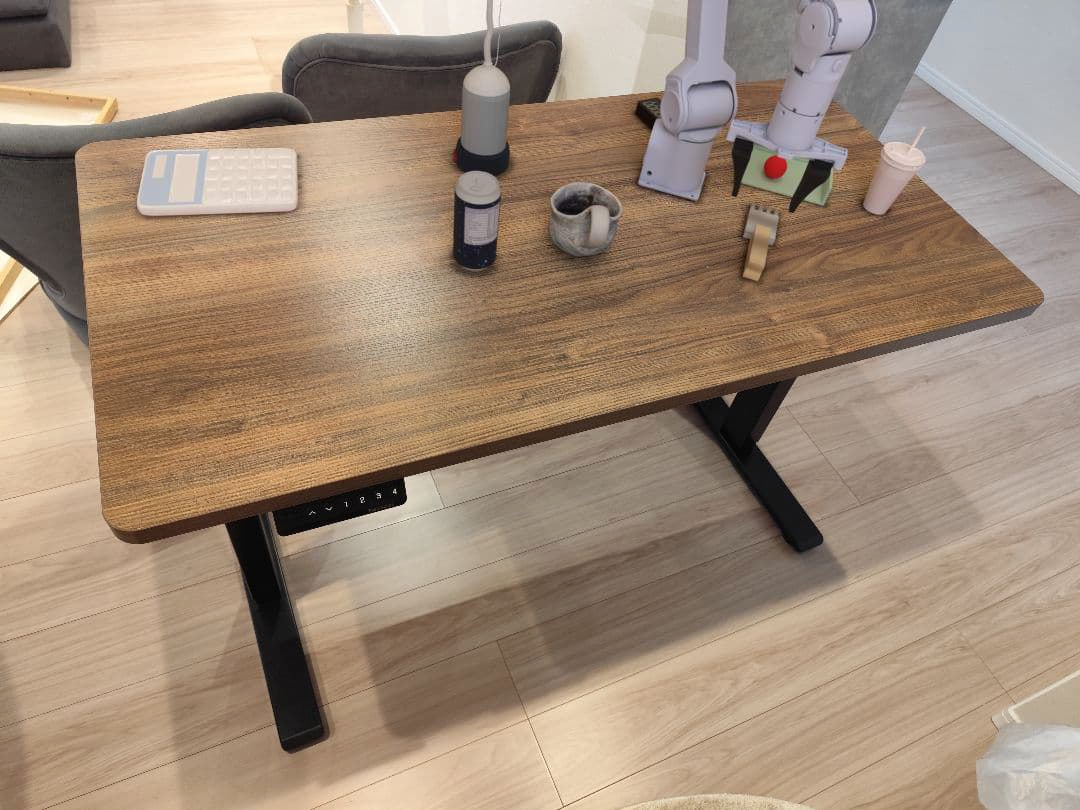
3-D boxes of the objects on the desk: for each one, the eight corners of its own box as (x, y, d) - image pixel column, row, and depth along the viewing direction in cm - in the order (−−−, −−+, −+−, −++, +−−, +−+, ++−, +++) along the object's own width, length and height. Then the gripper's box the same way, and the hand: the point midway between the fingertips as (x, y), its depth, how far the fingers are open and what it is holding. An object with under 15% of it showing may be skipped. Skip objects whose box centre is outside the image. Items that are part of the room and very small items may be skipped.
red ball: (757, 173, 116) (768, 151, 115) (761, 173, 119) (772, 151, 118) (778, 182, 115) (790, 160, 114) (781, 182, 118) (792, 160, 117)
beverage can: (501, 254, 99) (508, 177, 89) (486, 279, 95) (491, 201, 86) (462, 241, 99) (465, 164, 90) (445, 266, 96) (447, 188, 87)
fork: (765, 283, 101) (772, 268, 99) (734, 274, 102) (741, 258, 99) (777, 215, 112) (784, 199, 110) (749, 207, 112) (755, 191, 110)
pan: (823, 205, 115) (832, 187, 112) (736, 181, 116) (743, 163, 114) (829, 142, 128) (837, 124, 125) (751, 121, 129) (757, 103, 127)
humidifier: (444, 156, 112) (446, -20, 92) (486, 141, 115) (497, -31, 96) (476, 183, 108) (486, 6, 89) (519, 167, 112) (537, -6, 93)
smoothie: (896, 223, 114) (945, 142, 103) (856, 214, 114) (900, 132, 103) (892, 200, 118) (938, 119, 107) (853, 191, 118) (895, 110, 108)
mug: (598, 220, 106) (612, 159, 98) (632, 277, 99) (649, 216, 91) (535, 227, 103) (544, 165, 95) (565, 287, 96) (577, 224, 88)
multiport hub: (654, 109, 128) (657, 96, 126) (691, 142, 122) (695, 129, 121) (633, 113, 126) (636, 100, 124) (670, 147, 121) (673, 134, 119)
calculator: (298, 212, 99) (296, 200, 98) (138, 218, 95) (133, 205, 94) (297, 156, 107) (296, 144, 106) (149, 159, 103) (145, 147, 102)
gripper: (738, 103, 85) (705, 202, 95) (863, 136, 83) (815, 232, 94) (746, 77, 89) (713, 173, 100) (864, 107, 88) (818, 202, 98)
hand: (763, 200), depth 97 cm, fingers open, 7 cm apart
